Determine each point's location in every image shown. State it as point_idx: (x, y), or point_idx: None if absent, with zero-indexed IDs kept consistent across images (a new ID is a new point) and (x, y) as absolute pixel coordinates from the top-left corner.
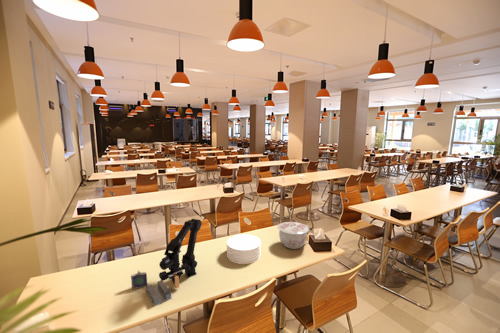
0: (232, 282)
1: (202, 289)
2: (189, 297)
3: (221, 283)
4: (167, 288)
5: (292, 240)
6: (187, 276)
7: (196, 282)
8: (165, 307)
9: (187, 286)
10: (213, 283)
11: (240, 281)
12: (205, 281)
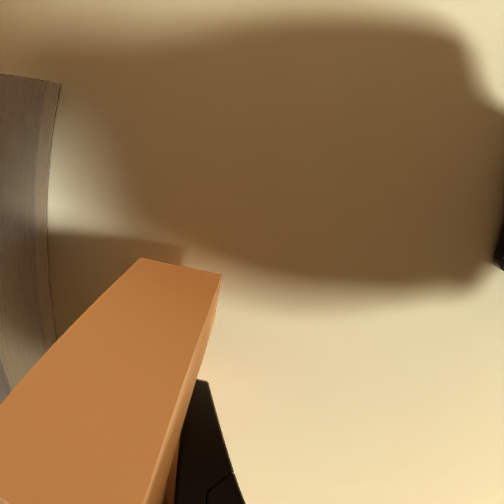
0: (487, 499)
1: (364, 499)
2: None
3: (470, 492)
4: (6, 387)
5: None
6: (500, 239)
7: (437, 419)
8: None
9: (323, 417)
10: (460, 480)
11: (498, 501)
12: (472, 444)
